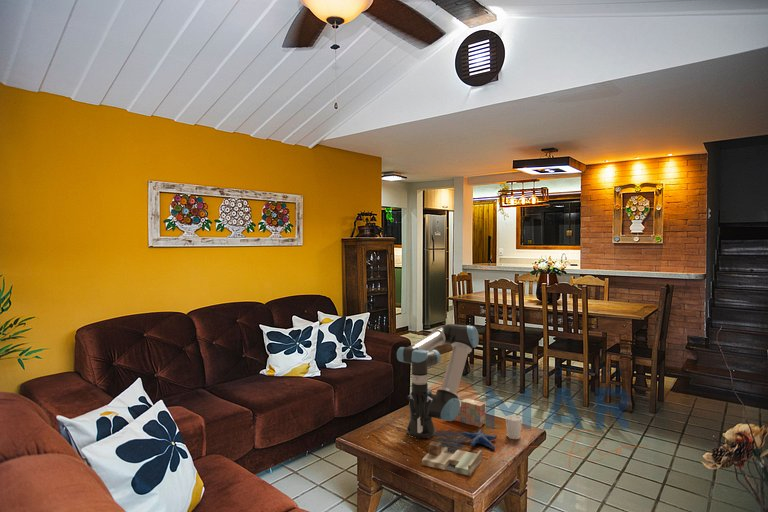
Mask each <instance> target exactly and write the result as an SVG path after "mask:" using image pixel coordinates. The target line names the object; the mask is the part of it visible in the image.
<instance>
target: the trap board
mask: <svg viewBox="0 0 768 512" xmlns="http://www.w3.org/2000/svg"><path fill="white" fill-rule="evenodd" d="M448 449H449V448H448V447H446V446H442V445H441V453H440V454H439V455H438V456H435V455H430V454H429V452H428V453H426V454H425V456H423V458H422V459H421V465H422V466H427V467H430V468H435V469H439V470H442V471H443V470H444V471H448V472H452V473H457V474H459V475H460V474H461V475H465V476H469V477H471V476H472V475H473V473H474V472H475V470H476V469H477V468H478V466H479V465H480V464H481V462H482V460H483V451H482V450H481V449H479V450H478V452H477V453H475V452H471V451H466V450H463V449H462V450H461V449H457V450H455V452H454V453H453V452H449V451H448Z"/></svg>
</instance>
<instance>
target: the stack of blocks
mask: <svg viewBox="0 0 768 512" xmlns="http://www.w3.org/2000/svg"><path fill="white" fill-rule="evenodd" d="M453 421H456V422H459V423H463V424H466V425H470V426H473V425H474V427H477V426H478V427H477V428H481V427H483V426H484V425H483V424H485V425H486V402H482V401H480V400H476V399H470V398H463V399H462V400H460V410H459V413H458V415H457V417H456V418H455V419H454V420H453ZM482 425H483V426H482Z"/></svg>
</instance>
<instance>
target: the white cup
mask: <svg viewBox="0 0 768 512" xmlns="http://www.w3.org/2000/svg"><path fill="white" fill-rule="evenodd" d="M505 427H506V437H507V436H508V437H509V439H512V440H519V439H520V438H521V434H522V433H521V432H522V417H521V416H519V415H515V414H508V415H506V416H505ZM508 437H507V438H508Z"/></svg>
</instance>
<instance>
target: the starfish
mask: <svg viewBox="0 0 768 512" xmlns="http://www.w3.org/2000/svg"><path fill="white" fill-rule="evenodd" d="M461 435H462V436H464V437H466V438H467V439H470V440H471V441H470V446H471V447H474V446H475V445H477V444H478V445H483V446H484V447H487V448H489V449H491V450H492V451H495V450H496V446H495V445H494V444H493V443H492V442H491V441H493V440H496V439H497V435H489V434H487V433H486V434H485V433H483V431H482V430H481V429H479V430H478V431H477V432H465V431H462V432H461Z"/></svg>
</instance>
